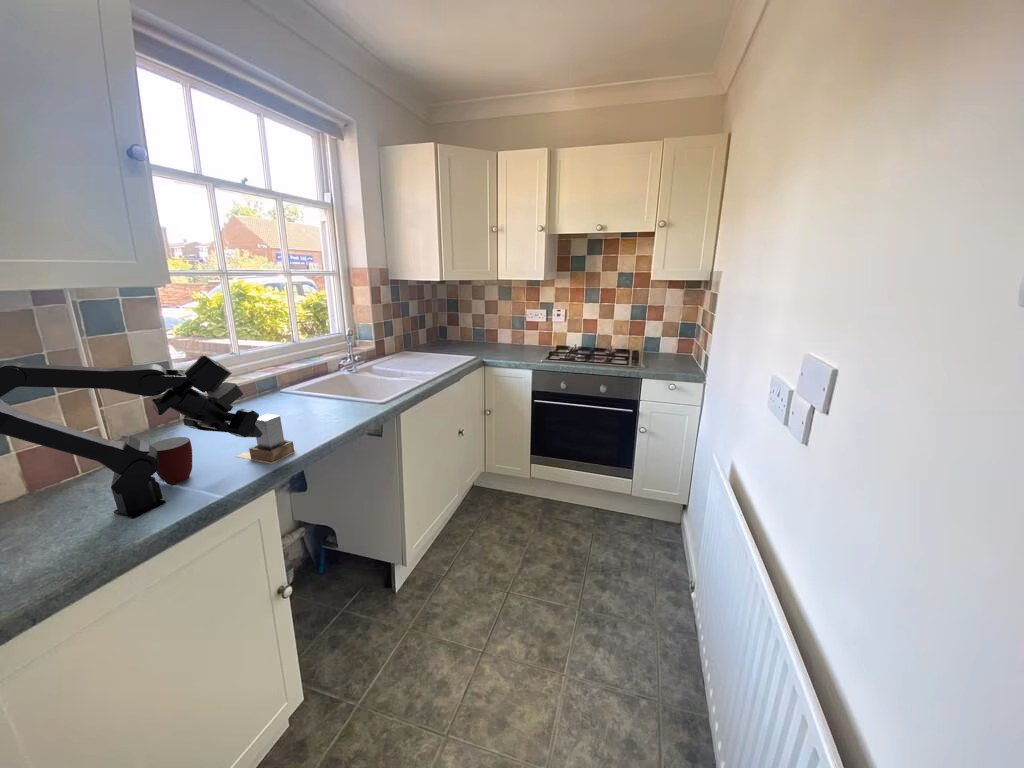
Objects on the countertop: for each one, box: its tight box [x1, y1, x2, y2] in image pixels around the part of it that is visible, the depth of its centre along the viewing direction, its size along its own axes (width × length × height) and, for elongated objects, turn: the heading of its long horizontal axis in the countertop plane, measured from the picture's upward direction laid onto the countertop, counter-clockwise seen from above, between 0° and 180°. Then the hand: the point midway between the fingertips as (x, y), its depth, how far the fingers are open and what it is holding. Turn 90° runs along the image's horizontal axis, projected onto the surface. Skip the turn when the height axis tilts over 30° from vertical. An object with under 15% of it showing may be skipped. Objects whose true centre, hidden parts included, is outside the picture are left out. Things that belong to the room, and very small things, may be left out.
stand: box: [234, 439, 297, 465], centre depth 113 cm, size 8×13×4 cm, turn 71°
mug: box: [150, 436, 193, 486], centre depth 99 cm, size 11×8×10 cm
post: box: [255, 413, 285, 451], centre depth 111 cm, size 4×4×11 cm
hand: (247, 433), depth 105 cm, fingers open, 9 cm apart
